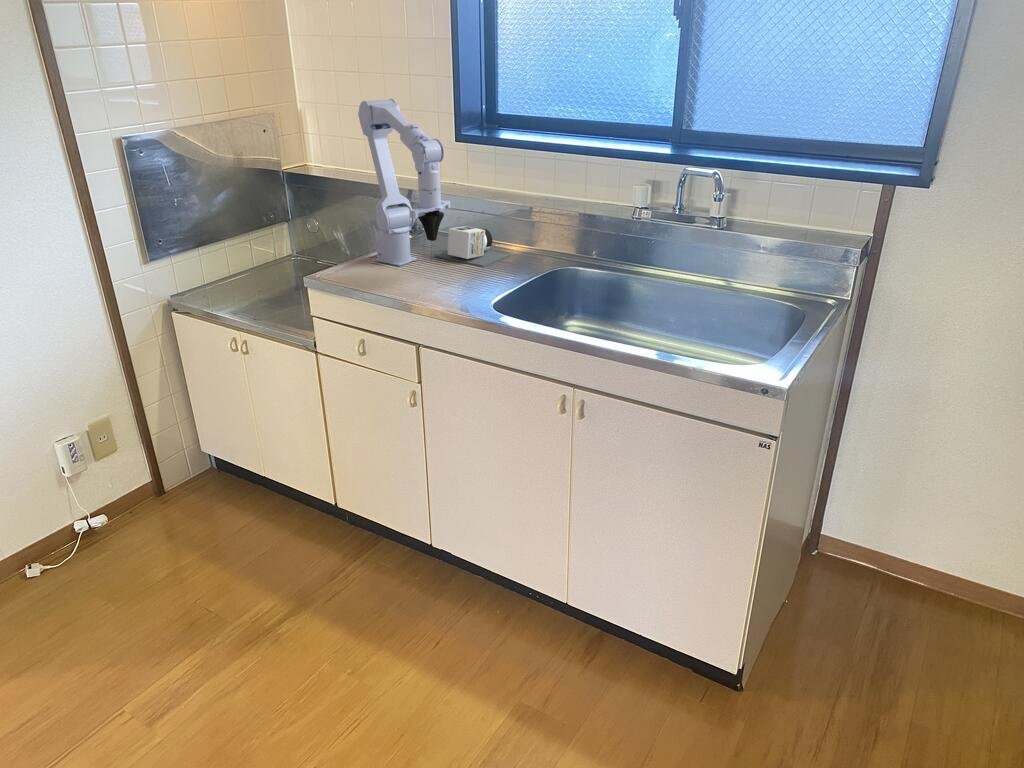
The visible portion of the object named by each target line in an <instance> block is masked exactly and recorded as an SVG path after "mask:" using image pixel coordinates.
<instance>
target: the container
mask: <svg viewBox="0 0 1024 768" xmlns="http://www.w3.org/2000/svg"><path fill="white" fill-rule="evenodd" d="M447 235H448V237H447V238H448V239H447V250H448V255H452V256H456V257H461V258H465V259H470V258H476V257H481V256H483V255H484V251H485V250H488V251H489V250H490V248H491V247H492V245H493V235H492V234H491V232H490V231H489V230H488V229H487V228H475V227H470V226H466V225H465V226H464V225H463V226H457V227H449V228H448V234H447Z"/></svg>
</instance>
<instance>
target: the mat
mask: <svg viewBox="0 0 1024 768" xmlns="http://www.w3.org/2000/svg"><path fill="white" fill-rule="evenodd" d="M508 256H509V257H511V255H510V254H507V253H503V252H498V251H492V250H489V249H488V250H485V251H484V255H483V256H481V257H476V258H470V259H465V258H461V257H456V256H452V255H448V249H447V250H445V251H442V252H439V253H437V254H435V255H434V257H435V258H439V259H445V260H448V259H449V261H452V262H453V261H454V262H458V263H462V264H468V265H473V266H476V267H481V268H486V267H488V266H489V265H492V264H495V263H497V262H499V261H502V260H504V259H506V257H507V258H509V257H508Z"/></svg>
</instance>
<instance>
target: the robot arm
mask: <svg viewBox="0 0 1024 768" xmlns="http://www.w3.org/2000/svg"><path fill="white" fill-rule="evenodd" d="M399 104H400V103H398V102H397V101H396V99H393V98H390V99H382V100H380V99H379V100H363V101H361V103H360V105H359V108H358V114H357V115H358V118H359V123H360V127H361V131H362V135H364V136H366V137H367V141H368V145H369V150H370V154H371V158H372V161H373V165H374V170H375V174H376V178H377V182H378V187H379V189H380V194H381V198H380V199H379V201H378V202H377V203H376V204H375V207H374V208H375V220H376V225H377V227H378V229H379V230H378V232H377V233H376V237H375V245H376V258H375V262H376V261H377V262H380V263H385V264H390V265H393V266H398V267H400V266H404V265H406V264H409V263H411V262H415V261H416V260H418V258H417V257H416V256H411V243H410V242H411V238H410V231H412V227H413V226H414V225H415V222H416V220H417V219H418V220H419V222H420V224H421V225H422V228H423V230H424V232H425V236H426V239H427V241H430V242H431V241H432V242H433V241H436V240H437V238H438V234H439V233H438V232H439V228H440V225H441V223H442V220H443V218H444V216H445V214H444V212H441V211H443V210H445V209H450V208H451V200H448V199H442V195H441V194H442V193H441V191H442V190H441V189H442V188H441V187H442V186H441V167H440V166H441V165H440V163H441V162H442V161H443V159H444V155H445V152H444V146H443V143H442V142H441V141H440V139H438V138H430V137H429V136H428V135H427V134H426V133H425V132H424V131H423V130H422V129H421V128H420V127H419V125H417V124H416V123H409V122H408V120H407V119H406V118H405V117H404V115H403V114H402V113H401V108H400V105H399ZM393 130H394V131H395V132H397V133H398V134H399V137H400V138H399V139H400V142H402V144H403V145H404V146H405V147H406V148H407V149H408V150H409V151H410V152H411V155H412V160H413V163H414V168H415V171H416V172H417V184H418V185H417V187H418V204H419V205H417V206H415V207H414V208H412V205H411V202H410V200H409V198H407V197H405V196H404V195H403V194H401V192H400V188H399V185H398V181H397V176H396V172H395V168H394V164H393V160H392V159H393V158H392V156H391V152H390V148H389V147H390V146H389V142H388V139H387V137H388V135H389V134H391V133H392V132H393Z"/></svg>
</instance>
